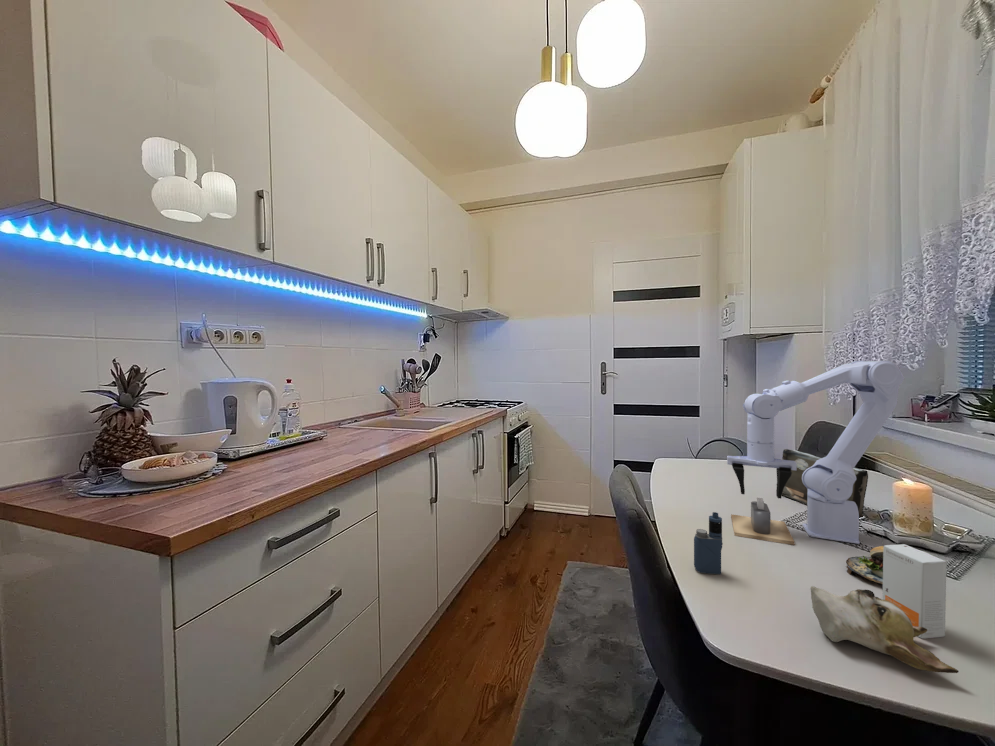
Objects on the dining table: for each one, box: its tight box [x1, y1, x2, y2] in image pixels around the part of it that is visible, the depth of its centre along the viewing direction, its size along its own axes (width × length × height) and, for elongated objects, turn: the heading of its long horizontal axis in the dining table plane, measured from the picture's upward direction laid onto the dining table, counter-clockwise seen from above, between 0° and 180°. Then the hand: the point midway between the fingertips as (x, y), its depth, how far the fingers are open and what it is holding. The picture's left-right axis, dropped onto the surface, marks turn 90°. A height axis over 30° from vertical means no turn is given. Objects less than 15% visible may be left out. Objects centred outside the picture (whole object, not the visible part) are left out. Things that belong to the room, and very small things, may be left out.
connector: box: [750, 497, 771, 534], centre depth 101 cm, size 4×10×7 cm, turn 153°
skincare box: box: [881, 543, 948, 640], centre depth 64 cm, size 6×4×12 cm
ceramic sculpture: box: [809, 585, 959, 674], centre depth 60 cm, size 11×9×15 cm
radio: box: [781, 448, 869, 518], centre depth 117 cm, size 23×9×15 cm, turn 6°
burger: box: [845, 537, 884, 585], centre depth 78 cm, size 12×12×8 cm
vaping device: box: [693, 511, 724, 575], centre depth 82 cm, size 3×5×12 cm, turn 78°
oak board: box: [730, 513, 795, 546], centre depth 101 cm, size 12×13×1 cm
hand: (760, 495), depth 101 cm, fingers open, 7 cm apart
